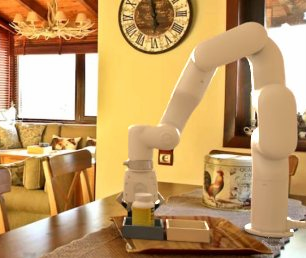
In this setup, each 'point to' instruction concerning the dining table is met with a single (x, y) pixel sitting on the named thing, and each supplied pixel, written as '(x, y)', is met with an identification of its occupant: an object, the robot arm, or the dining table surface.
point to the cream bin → (187, 230)
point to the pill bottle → (143, 210)
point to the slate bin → (143, 230)
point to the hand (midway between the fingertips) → (140, 223)
